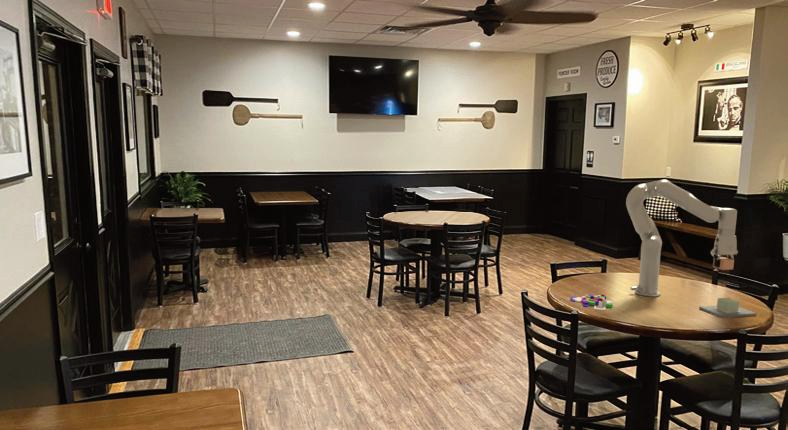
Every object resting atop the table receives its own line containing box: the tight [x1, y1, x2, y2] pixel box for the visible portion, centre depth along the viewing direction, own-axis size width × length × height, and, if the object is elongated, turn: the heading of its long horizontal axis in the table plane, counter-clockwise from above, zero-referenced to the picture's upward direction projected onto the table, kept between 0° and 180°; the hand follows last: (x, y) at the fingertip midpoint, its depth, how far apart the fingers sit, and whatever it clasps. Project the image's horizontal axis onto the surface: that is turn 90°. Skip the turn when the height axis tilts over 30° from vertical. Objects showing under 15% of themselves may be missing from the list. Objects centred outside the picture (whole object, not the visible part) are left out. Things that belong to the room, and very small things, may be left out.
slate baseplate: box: [698, 305, 757, 318], centre depth 278 cm, size 20×14×1 cm
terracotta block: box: [712, 256, 735, 271], centre depth 290 cm, size 6×6×5 cm
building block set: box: [569, 293, 614, 312], centre depth 291 cm, size 25×20×4 cm
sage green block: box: [716, 297, 740, 312], centre depth 278 cm, size 6×6×5 cm
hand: (722, 266), depth 291 cm, fingers closed on terracotta block, 6 cm apart
